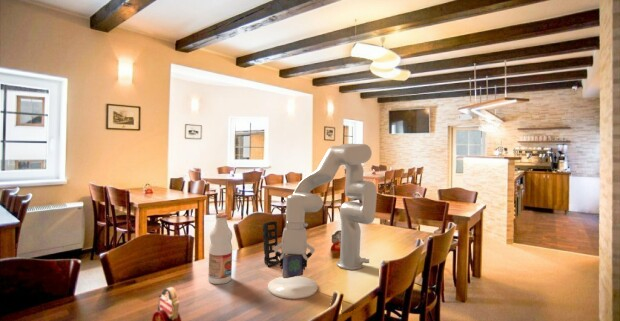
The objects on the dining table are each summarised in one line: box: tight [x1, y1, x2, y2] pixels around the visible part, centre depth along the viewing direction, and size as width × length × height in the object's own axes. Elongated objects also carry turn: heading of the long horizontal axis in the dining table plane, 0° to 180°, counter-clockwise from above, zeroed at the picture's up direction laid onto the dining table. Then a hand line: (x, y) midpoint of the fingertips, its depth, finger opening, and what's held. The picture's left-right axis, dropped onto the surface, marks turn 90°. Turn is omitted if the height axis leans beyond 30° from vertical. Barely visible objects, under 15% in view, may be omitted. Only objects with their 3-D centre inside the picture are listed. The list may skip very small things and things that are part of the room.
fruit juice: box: [208, 212, 233, 285], centre depth 138 cm, size 9×9×28 cm
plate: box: [267, 275, 318, 300], centre depth 133 cm, size 20×20×1 cm
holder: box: [262, 221, 280, 268], centre depth 160 cm, size 11×8×20 cm
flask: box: [281, 254, 304, 278], centre depth 133 cm, size 9×3×11 cm, turn 121°
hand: (293, 268), depth 133 cm, fingers closed on flask, 8 cm apart
